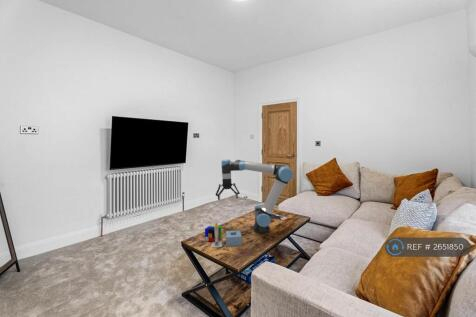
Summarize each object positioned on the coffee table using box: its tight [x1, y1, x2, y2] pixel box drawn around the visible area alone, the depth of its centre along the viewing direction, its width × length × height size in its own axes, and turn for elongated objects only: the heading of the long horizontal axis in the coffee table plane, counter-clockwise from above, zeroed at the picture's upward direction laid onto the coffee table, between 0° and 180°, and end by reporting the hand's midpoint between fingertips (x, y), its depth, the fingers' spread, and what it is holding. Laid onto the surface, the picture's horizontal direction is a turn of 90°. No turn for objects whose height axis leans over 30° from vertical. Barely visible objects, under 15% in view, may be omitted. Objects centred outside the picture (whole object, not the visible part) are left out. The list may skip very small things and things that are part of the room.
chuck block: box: [221, 229, 243, 247], centre depth 178 cm, size 16×12×8 cm
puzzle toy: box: [204, 224, 223, 243], centre depth 185 cm, size 10×10×10 cm
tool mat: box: [211, 241, 223, 249], centre depth 175 cm, size 8×8×1 cm
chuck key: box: [214, 222, 220, 245], centre depth 174 cm, size 3×8×16 cm, turn 5°
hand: (228, 203), depth 186 cm, fingers open, 13 cm apart
